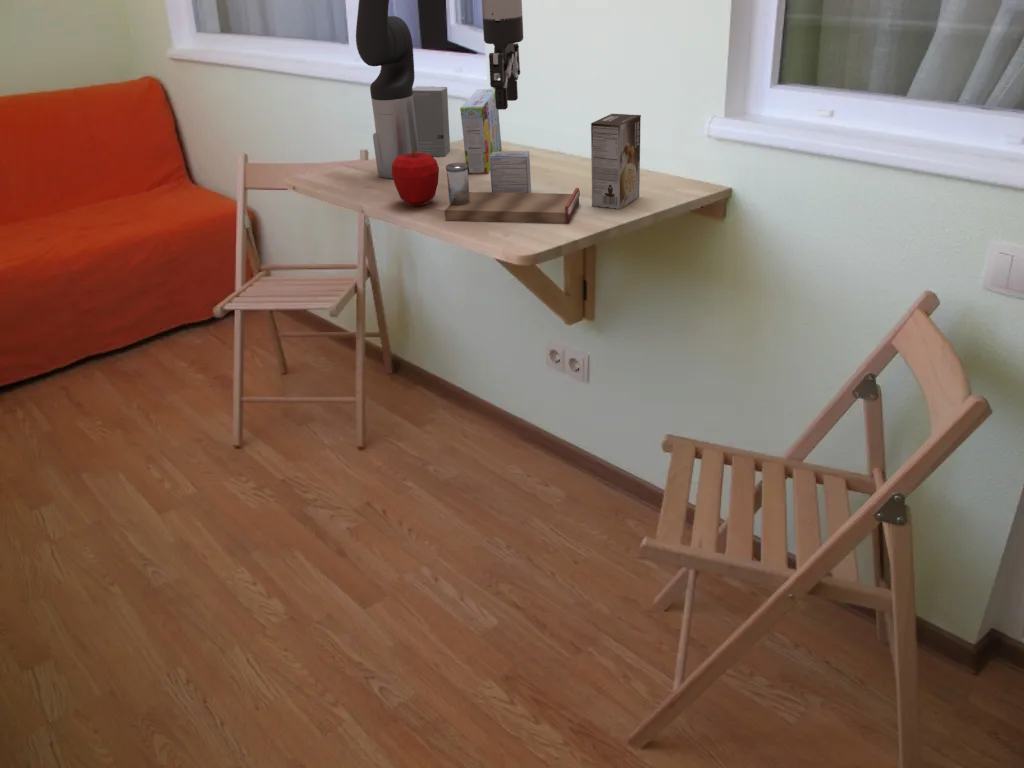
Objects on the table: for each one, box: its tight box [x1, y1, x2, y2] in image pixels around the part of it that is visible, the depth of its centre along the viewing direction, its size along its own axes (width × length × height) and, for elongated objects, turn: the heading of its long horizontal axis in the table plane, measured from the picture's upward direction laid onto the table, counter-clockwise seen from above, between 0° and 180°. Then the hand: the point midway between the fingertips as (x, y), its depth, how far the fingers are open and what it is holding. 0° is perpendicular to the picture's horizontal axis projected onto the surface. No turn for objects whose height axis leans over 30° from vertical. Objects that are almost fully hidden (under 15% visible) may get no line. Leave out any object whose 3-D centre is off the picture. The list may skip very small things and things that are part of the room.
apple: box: [392, 151, 440, 207], centre depth 165 cm, size 10×10×11 cm
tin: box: [445, 162, 470, 205], centre depth 159 cm, size 4×4×7 cm
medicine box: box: [489, 150, 532, 193], centre depth 168 cm, size 8×4×9 cm, turn 84°
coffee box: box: [590, 113, 642, 210], centre depth 158 cm, size 9×6×16 cm
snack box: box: [459, 88, 503, 175], centre depth 191 cm, size 21×6×15 cm, turn 172°
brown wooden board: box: [444, 187, 581, 224], centre depth 159 cm, size 24×12×3 cm, turn 76°
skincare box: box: [412, 85, 451, 157], centre depth 201 cm, size 8×7×16 cm
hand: (507, 104), depth 161 cm, fingers open, 8 cm apart
